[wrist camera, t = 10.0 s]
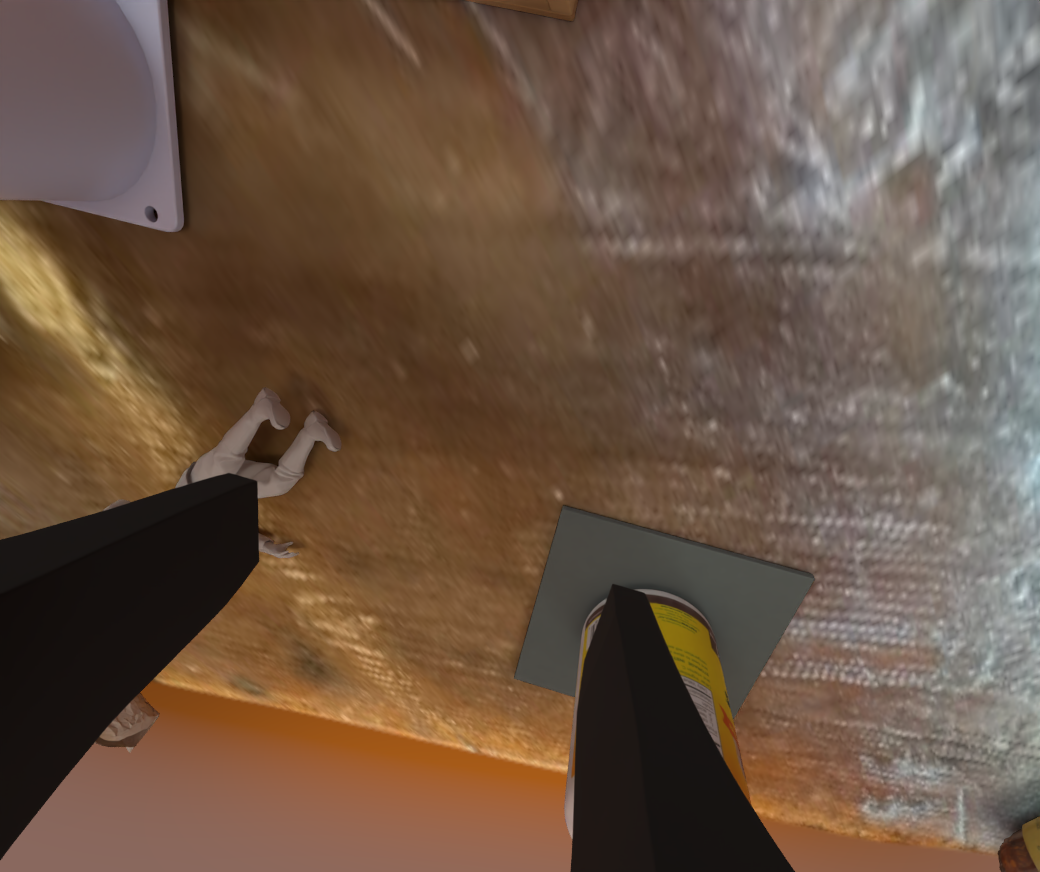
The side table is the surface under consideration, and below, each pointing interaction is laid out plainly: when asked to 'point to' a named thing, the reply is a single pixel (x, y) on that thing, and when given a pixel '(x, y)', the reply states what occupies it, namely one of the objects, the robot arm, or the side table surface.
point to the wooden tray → (538, 7)
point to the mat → (664, 567)
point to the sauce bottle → (1022, 849)
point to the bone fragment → (129, 725)
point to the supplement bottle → (697, 669)
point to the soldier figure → (268, 475)
